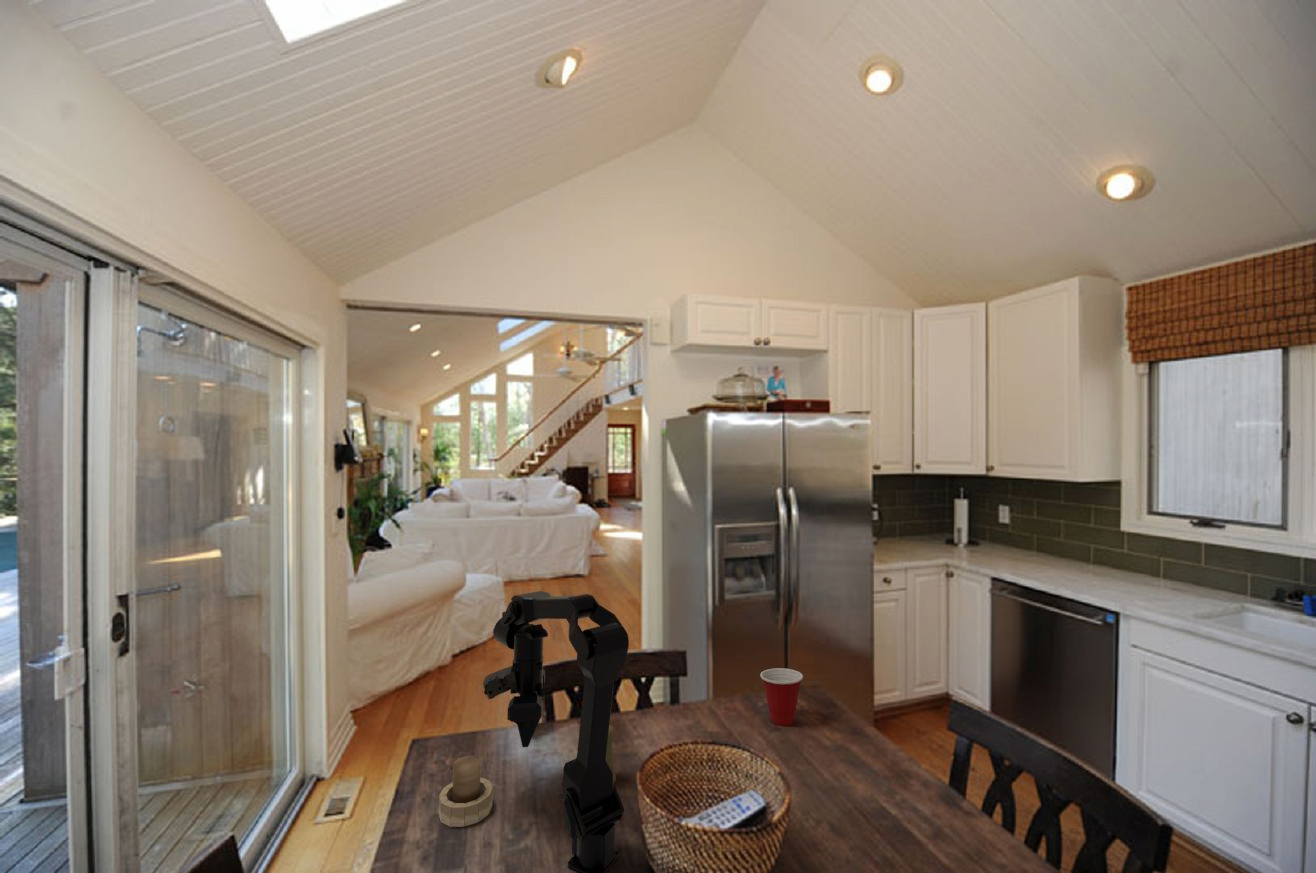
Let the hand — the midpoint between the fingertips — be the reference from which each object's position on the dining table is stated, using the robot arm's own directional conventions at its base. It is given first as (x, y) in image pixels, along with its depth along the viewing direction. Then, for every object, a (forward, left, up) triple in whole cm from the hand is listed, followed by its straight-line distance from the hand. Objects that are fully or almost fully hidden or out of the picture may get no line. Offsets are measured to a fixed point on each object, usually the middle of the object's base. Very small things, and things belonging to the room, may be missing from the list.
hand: (527, 734), depth 110 cm
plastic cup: (-36, -56, -12) cm, 68 cm away
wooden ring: (+7, +9, -12) cm, 17 cm away
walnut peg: (+7, +9, -12) cm, 17 cm away
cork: (-10, -12, -12) cm, 20 cm away
